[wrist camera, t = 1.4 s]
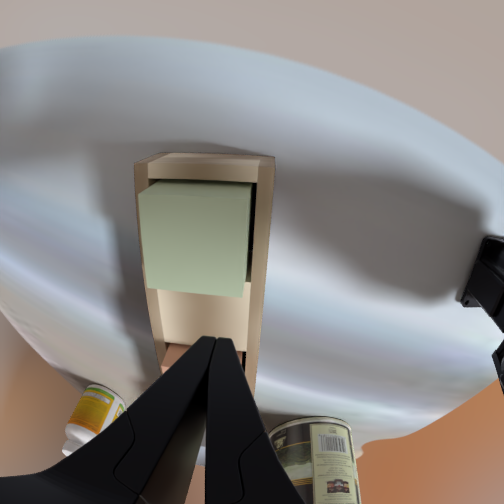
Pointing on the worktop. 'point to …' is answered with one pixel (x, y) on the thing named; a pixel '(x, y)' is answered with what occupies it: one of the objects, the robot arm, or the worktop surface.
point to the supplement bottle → (91, 416)
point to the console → (202, 305)
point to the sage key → (196, 235)
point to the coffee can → (318, 459)
